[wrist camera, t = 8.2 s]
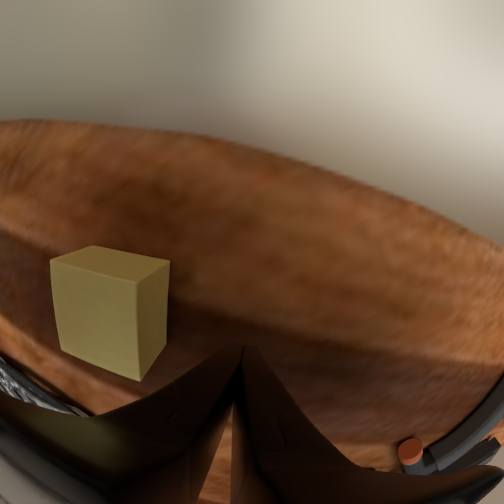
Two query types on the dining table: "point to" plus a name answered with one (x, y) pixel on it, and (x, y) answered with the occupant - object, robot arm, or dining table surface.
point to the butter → (111, 308)
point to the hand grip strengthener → (458, 442)
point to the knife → (31, 391)
